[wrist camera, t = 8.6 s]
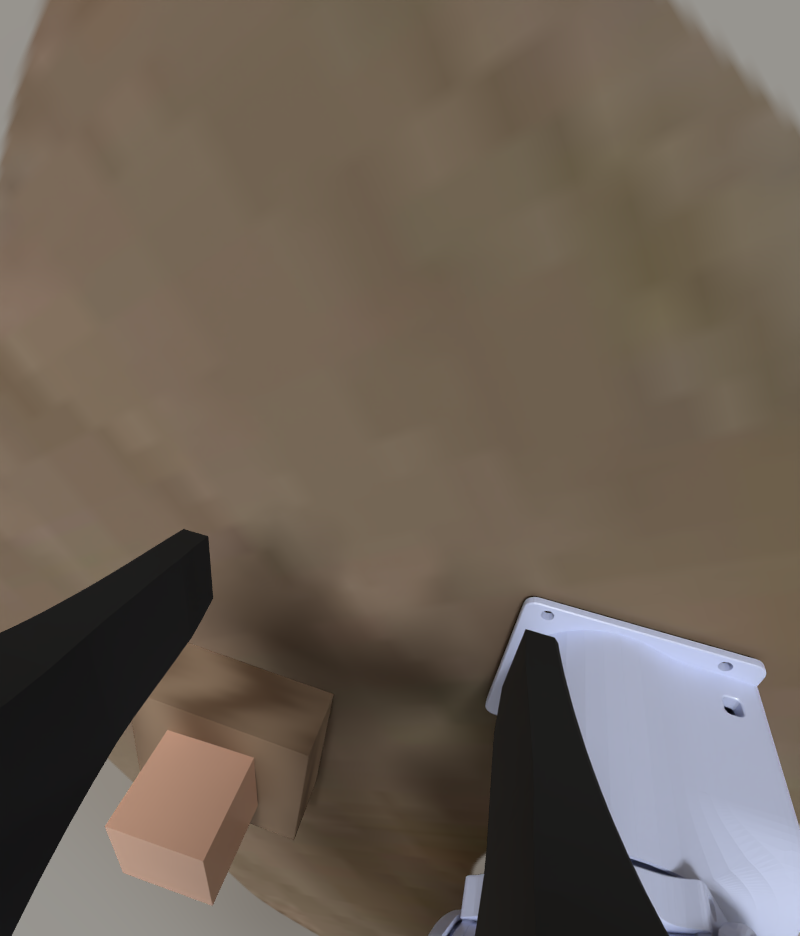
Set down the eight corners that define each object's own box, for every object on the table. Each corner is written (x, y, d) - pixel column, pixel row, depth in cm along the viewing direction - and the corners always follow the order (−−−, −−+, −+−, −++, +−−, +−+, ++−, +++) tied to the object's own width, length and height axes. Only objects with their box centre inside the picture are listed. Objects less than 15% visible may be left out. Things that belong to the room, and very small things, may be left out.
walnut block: (336, 687, 32) (308, 756, 28) (318, 775, 37) (293, 840, 34) (170, 629, 33) (126, 689, 29) (178, 723, 38) (141, 781, 35)
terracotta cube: (254, 757, 30) (203, 861, 26) (258, 805, 33) (212, 906, 29) (167, 729, 31) (104, 826, 27) (178, 778, 33) (123, 872, 29)
